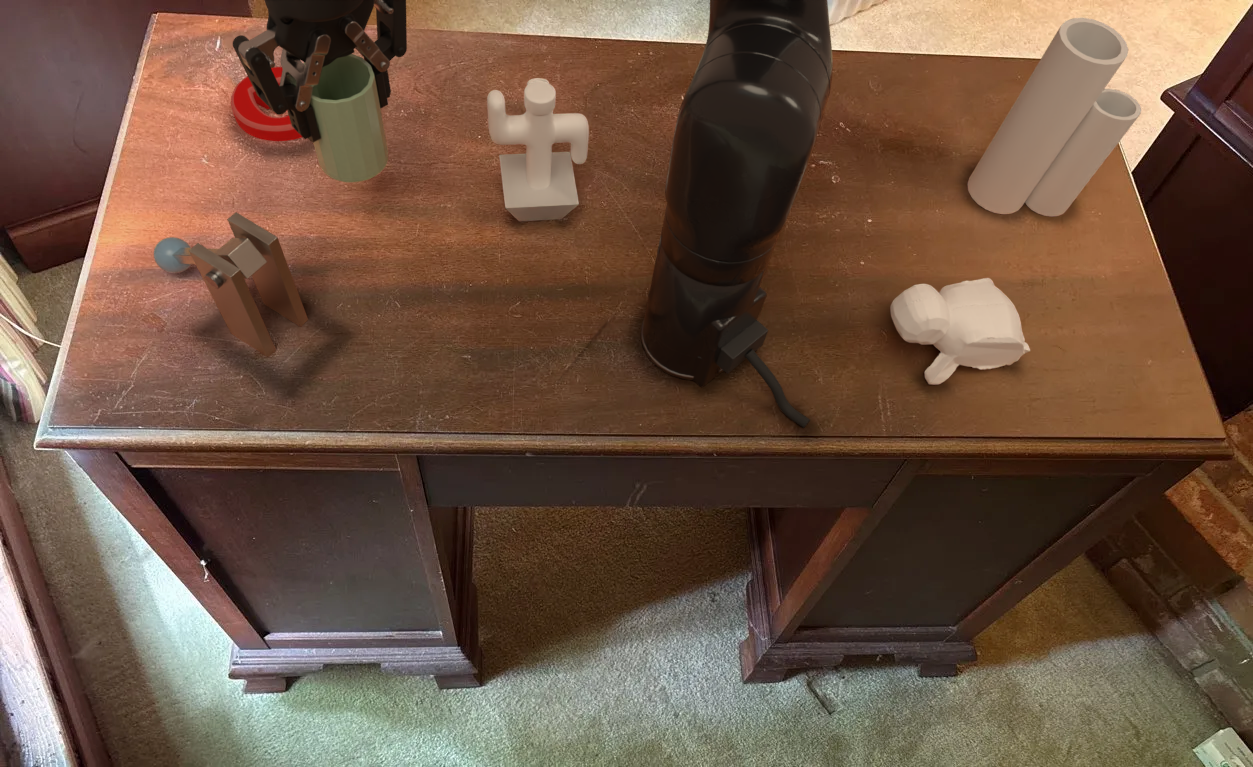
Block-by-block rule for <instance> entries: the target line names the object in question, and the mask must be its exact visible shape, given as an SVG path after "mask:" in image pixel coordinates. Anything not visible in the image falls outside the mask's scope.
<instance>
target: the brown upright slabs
mask: <svg viewBox="0 0 1253 767" xmlns="http://www.w3.org/2000/svg"><path fill="white" fill-rule="evenodd" d="M227 222H228V225H229V227H230V229H231V232H232V234H233V236H234V238H248V239H249V240H250V241H251V242H252V243H253V245H254V246H255V247H256V248H257V250H258V251H259V252H260V253H261V255H262V256H263V257H264V258H265V259H266V261H267V263H265V264H264V265H263V266H262V267H261V268H260V269H259V270H257V271H256V272H255V273H254V274H253V275H252V276H251V278H252V280H253V282H254V286H255V287H256V290H257V292H258V294H259V296H260V299H261V301H262V303H263V305H265V306H266V307H267V308H268V309H271V310H273V311H274V312H275V313H277V314H279V315H280V316H282V317H283V318H285V319H287V320H289V321H290V322H292V323H293V324H295V325H296V326H298V327H299V328H301V327H303V325H305V324H306V323H307V322H308V321H309V318H308V315H307V313H306V310H305V308H304V305H303V302H302V299H301V296H300V294H299V292H298V289H297V286H296V284H295V280H294V278H293V275H292V272H291V270H290V267H289V264H288V261H287V259H286V256H285V253H284V251H283V248H282V246H281V243H280V240H279V238H278V236H276V235H275V234H273V233H272V232H270V231H268V230H267V229H265V228H264V227H262V226H260V225H259V224H257V223H255V222H254V221H252V220H250V219H248V218H247V217H246V216H244V215H242V214H240V213H239V212H237V211H236V212H234V213H233V214H231V215H230V216H229V217H228V218H227ZM207 248H208V247H205V246H204V245H202V244H201V243H199V242H197V243H196V244H195V245H193V246H192V247H191V249H190V250H189V253H190V254H191V256H192V258H193V260H194V262H195V264H194V265H195V266H196V268H197V270H198V272H199V274H200V276H201V278H202V280H203V282H204V284H205V286H206V288H207V289H208V291H209V294H210V295H211V297H212V299H213V301H214V303H215V306H216V307H217V309H218V311H219V313H220V315H221V317H222V319H223V321H224V323H225V325H226V327H227V328H228V331H229V332H230V334H231V335H233V336H234V337H236V338H237V339H239V340H240V341H242V342H243V343H245V344H246V345H248V346H249V347H251V348H253V349H254V350H256V351H257V352H259V353H260V354H262V355H263V356H265V357H266V358H270V356H272V355H273V354H274V353H275V352H276V351H277V348H276V346H275V344H274V342H273V339H272V338H271V335H270V333H269V331H268V328H267V326H266V324H265V322H264V320H263V317H262V315H261V313H260V310H259V309H258V306H257V304H256V302H255V300H254V297H253V295H252V293H251V291H250V288H249V287H248V286H249V285H248V284H247V282H246V279H244V277H243V275H242V272H241V270H240V269H239V268H237V267H236V266H234V265H233V264H231V263H229V262H228V261H226V260H225V259H223V258H221V257H220V256H218V255H217V254H215V253H213V252H212V251H210V250H209V249H207Z"/></svg>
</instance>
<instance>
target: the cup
mask: <svg viewBox="0 0 1253 767" xmlns="http://www.w3.org/2000/svg"><path fill="white" fill-rule="evenodd" d="M302 63H303V64H304V65H305V62H302ZM310 105H311V106H312V107H313V110H314V114H315V118H316V122H317V126H318V129H319V133H320V137H321V139H319V140H317V141H315V142H313V143H312V144H313V148H314V151H315V155H316V158H317V162H318V166H319V168H320V169H321V171H322V172H323V173H324V174H325V175H326V176H328V177H329V178H331V179H332V180H335V181H338V182H342V183H349V184H351V183H361V182H366V181H368V180H371V179H373V178H375V177H376V176H378V175H379V174H381V173H382V172H383V171H384V169H386V166H387V165H388V162H389V147H388V142H387V136H386V131H385V127H384V126H385V125H384V121H383V115H382V108H380V103H379V97H378V92H377V86H376V81H375V75H374V72H373V70H372V67H371V65H370V64H369V63H368V62H366V61H365V60H364V57H363V56H362V57H361V56H359V55H357V54H355V53H352V54H350V55H348V56H345V57H340V58H337V59H335V60H334V61H333V62H332V63H330V64H329V65H327V66H324V67H322V72H321V76H320V80H319V84H318V85H317V86H314V87H313V91H312V96H311V100H310Z"/></svg>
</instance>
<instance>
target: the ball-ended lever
mask: <svg viewBox="0 0 1253 767" xmlns="http://www.w3.org/2000/svg"><path fill="white" fill-rule="evenodd" d="M191 248H192V247H191V245H190V244H189V243H188V242H187V241H186V240H184V239H182V238H179V237H176V236H172V237H171V236H170V237H165V238H163V239H161V240H159V241H158V242H157V243H156V245H155V247H154V249H153V259H154V262H155V263H156V265H157V266H158V267H159V268H160V269H161V270H163V271H164V272H167V273H169V274H181V273H183V272H185V271H187V270H188V269H190V267H191V266H192V265H196V264H195V262H194V260H193V258H192V256H191V254H190V253H189V250H190V249H191ZM206 248H207V249H209V250H210V251H212V252H213V253H215V254H217V255H218V256H220V257H221V258H223V259H225V260H226V261H228V262H229V263H231V264H233V265H234V266H236V267H237V268H239V269H240V270H241V272H242V275H243V277H244V279H245V280H249V278H251V277H252V275H253V274H254V273H255V272H256V271H257V270H259V269H260V268H261V267H262V266H263V265H264V264H265V263H267V261H266V259H265V258H264V257H263V256H262V255H261V253H260V252H259V251H258V250H257V248H256V247H255V246H254V245H253V243H252V242H251V241H250V240H249V239H248V238H235V237H232V238H230V239H229V240H228V241H226V242H225V243H224V244H223V245H222V246H221V247H219V248H209V247H206Z"/></svg>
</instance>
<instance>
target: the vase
mask: <svg viewBox="0 0 1253 767" xmlns="http://www.w3.org/2000/svg"><path fill="white" fill-rule="evenodd" d="M1128 53H1129V46H1128V44H1127V41H1126V40H1125V39H1124V37H1123V36H1122V34H1120V33H1119V32H1118V31H1117V30H1116V29H1115V28H1114V27H1111V26H1110V25H1108V24H1106V23H1104V22H1102V21H1100V20H1096V19H1095V18H1094V19H1093V18H1090V17H1089V18H1088V17H1072V18H1069V19H1067V20H1065V21H1064V22H1063V23H1062V24H1061V25H1060V26H1059V28H1058V30H1057V31H1056V33H1055V35H1054V36H1053V38H1052V40H1051V41H1050V43H1049V44H1048V46H1047V47H1046V50H1045V51H1044V53H1043V55H1042V56H1041V58H1040V59H1039V61H1038V63H1037V64H1036V66H1035V67H1034V70H1033V71H1032V73H1031V74H1030V76H1029V78H1028V79H1027V81H1026V83H1025V84H1024V86H1023V88H1022V89H1021V91H1020V92H1019V95H1018V96H1017V97H1016V100H1015V101H1014V103H1013V105H1012V106H1011V108H1010V110H1009V111H1008V113H1006V116H1005V118H1004V119H1003V121H1002V123H1001V124H1000V126H999V128H998V130H997V131H996V133H994V134H995V135H994V136H993V138H992V139H991V141H990V143H989V145H988V146H987V147H986V149H985V151H984V152H983V155H981V158H980V159H979V161H978V163H977V164H976V166H975V168H974V170H973V171H972V173H971V174H970V176H969V178H968V181H967V183H966V184H967V191H968V193H969V195H970V197H971V199H972V200H973V201H974V202H975V203H976V204H977V205H978V206H979V207H982V209H985V210H986V211H989V212H990V213H994V214H999V215H1000V214H1001V215H1010V214H1014V213H1016V212H1018V211H1019V210H1020V209H1021V208H1022V207H1023V206H1024V204H1025V205H1026V206H1027V207H1028V208H1029V209H1030V210H1031V211H1032V212H1034V213H1036V214H1038V215H1040V216H1045V217H1059V216H1061V215H1064V214H1065V213H1066V212H1067V211H1068V209H1069V208H1070V207H1071V205H1072V204H1073V203H1074V202H1075V200H1076V199H1077V198H1078V197H1079V195H1080V194H1081V193H1082V191H1083V190H1084V188H1085V187H1086V186H1087V185H1088V183H1089V182H1090V180H1091V179H1092V178H1093V177H1094V175H1095V174H1096V173H1097V171H1098V170H1099V169H1100V168H1101V167H1102V165H1103V164H1104V162H1105V161H1106V160H1107V158H1108V157H1109V156H1110V155H1111V154H1112V152H1113V150H1114V149H1115V148H1116V147H1117V145H1118V144H1119V143H1120V142H1121V141H1122V139H1123V138H1124V136H1125V135H1126V134H1127V133H1128V131H1129V130H1130V128H1132V126H1133V125H1134V124H1135V122H1136V121H1137V120H1138V118H1139V117H1140V116H1141V113H1142V107H1141V104H1140V103H1139V102H1138V100H1137V99H1136V98H1134V97H1133V96H1132V95H1130V94H1129V93H1127V92H1125V91H1122V90H1119V89H1116V88H1115V89H1113V88H1106V87H1107V86H1108V84H1109V83H1110V82H1111V80H1112V78H1113V77H1114V76H1115V74H1116V73H1117V71H1118V70H1119V69H1120V67H1121V66H1122V65H1123V63H1124V62H1125V60H1126V59H1127V58H1128V55H1129V54H1128Z"/></svg>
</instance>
